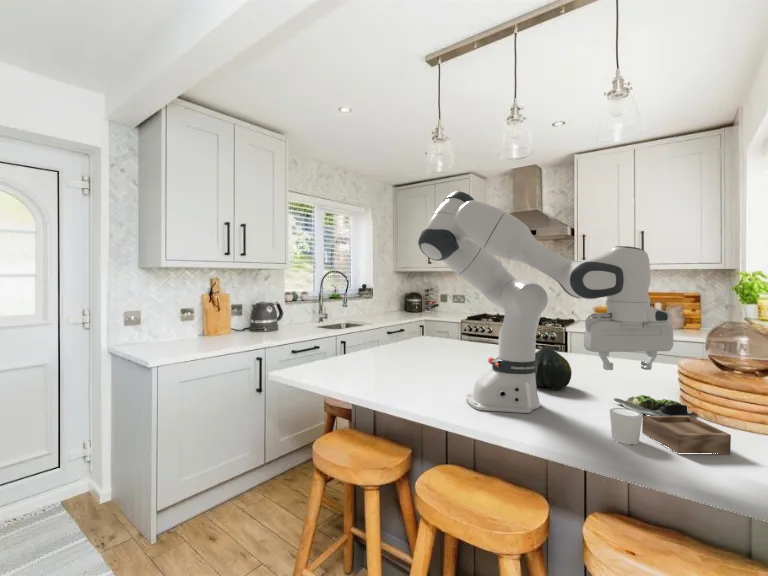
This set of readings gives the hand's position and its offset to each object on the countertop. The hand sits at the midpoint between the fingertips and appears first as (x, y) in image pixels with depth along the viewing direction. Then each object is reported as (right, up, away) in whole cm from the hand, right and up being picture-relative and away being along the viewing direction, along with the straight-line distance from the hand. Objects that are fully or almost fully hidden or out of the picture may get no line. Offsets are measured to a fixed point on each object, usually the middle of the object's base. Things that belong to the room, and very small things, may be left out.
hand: (627, 369), depth 96 cm
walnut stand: (+13, -18, -1) cm, 22 cm away
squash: (0, -16, +47) cm, 49 cm away
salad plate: (+22, -18, +21) cm, 36 cm away
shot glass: (0, -18, +1) cm, 18 cm away
